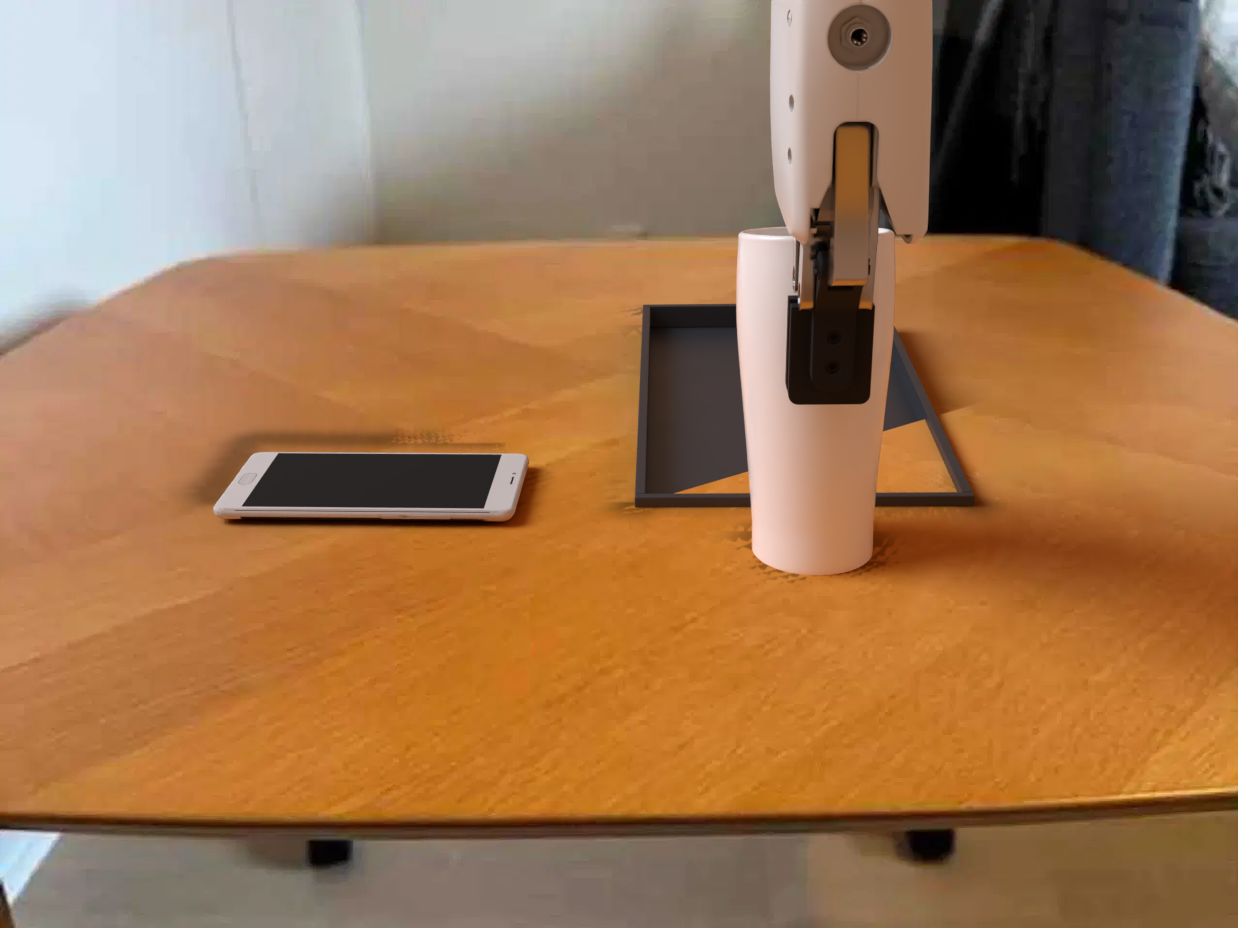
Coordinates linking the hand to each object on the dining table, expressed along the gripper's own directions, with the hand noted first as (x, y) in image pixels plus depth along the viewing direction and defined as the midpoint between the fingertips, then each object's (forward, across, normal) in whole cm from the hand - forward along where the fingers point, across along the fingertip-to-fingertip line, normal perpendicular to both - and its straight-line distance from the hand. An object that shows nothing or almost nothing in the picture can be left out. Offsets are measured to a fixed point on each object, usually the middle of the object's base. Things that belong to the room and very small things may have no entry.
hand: (826, 396), depth 58 cm
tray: (+10, +24, 0) cm, 26 cm away
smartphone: (+10, +13, +21) cm, 27 cm away
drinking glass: (+10, +4, 0) cm, 11 cm away
